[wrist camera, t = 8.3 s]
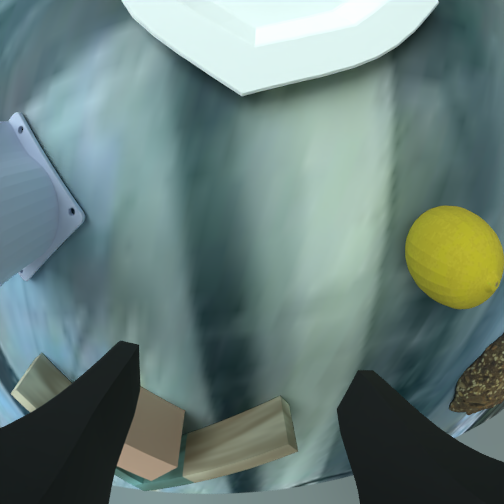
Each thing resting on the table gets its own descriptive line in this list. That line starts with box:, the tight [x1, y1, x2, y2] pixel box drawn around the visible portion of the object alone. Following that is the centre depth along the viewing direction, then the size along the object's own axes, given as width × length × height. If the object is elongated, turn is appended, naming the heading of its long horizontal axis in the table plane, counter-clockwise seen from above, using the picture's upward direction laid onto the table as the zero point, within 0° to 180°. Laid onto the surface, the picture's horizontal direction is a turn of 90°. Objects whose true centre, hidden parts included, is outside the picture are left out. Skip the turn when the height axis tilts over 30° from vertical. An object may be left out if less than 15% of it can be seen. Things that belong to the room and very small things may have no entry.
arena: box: [11, 353, 298, 491], centre depth 19 cm, size 16×17×5 cm
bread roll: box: [449, 333, 504, 415], centre depth 23 cm, size 13×12×5 cm
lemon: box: [405, 206, 504, 309], centre depth 14 cm, size 6×6×8 cm
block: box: [117, 386, 185, 481], centre depth 20 cm, size 4×4×6 cm
